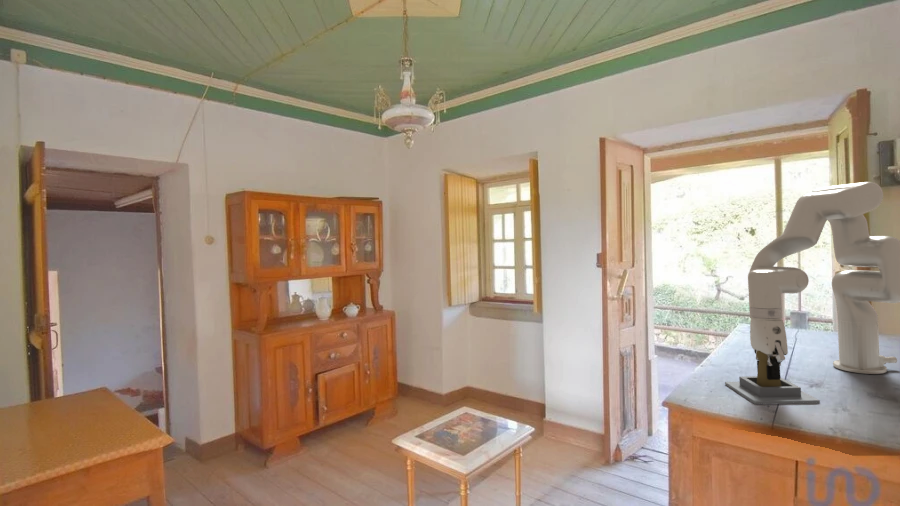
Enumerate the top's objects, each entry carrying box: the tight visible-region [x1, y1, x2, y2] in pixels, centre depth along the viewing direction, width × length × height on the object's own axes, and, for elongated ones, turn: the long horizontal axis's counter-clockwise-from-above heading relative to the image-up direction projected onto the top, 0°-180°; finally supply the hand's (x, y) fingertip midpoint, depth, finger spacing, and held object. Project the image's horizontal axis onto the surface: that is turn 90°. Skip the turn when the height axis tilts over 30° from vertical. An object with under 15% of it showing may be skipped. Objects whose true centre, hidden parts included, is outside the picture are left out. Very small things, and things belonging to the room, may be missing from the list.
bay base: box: [724, 375, 821, 405], centre depth 124 cm, size 16×16×3 cm
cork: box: [755, 350, 782, 387], centre depth 124 cm, size 6×6×11 cm
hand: (768, 376), depth 124 cm, fingers closed on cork, 3 cm apart
